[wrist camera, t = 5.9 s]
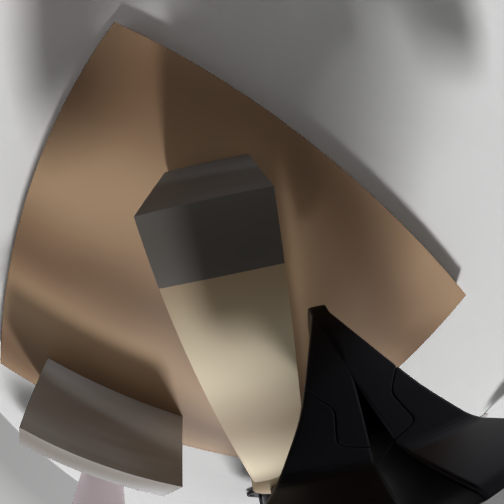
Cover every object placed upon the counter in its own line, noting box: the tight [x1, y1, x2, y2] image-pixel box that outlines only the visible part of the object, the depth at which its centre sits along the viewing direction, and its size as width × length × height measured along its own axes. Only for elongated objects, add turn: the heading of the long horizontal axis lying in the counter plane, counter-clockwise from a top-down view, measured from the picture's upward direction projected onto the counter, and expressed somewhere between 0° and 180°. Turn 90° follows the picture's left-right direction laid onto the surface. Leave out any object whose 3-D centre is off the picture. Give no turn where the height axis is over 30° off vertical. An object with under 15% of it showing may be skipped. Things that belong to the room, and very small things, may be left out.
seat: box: [1, 22, 466, 496], centre depth 11 cm, size 18×20×6 cm
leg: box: [134, 154, 301, 494], centre depth 11 cm, size 17×3×4 cm, turn 10°
